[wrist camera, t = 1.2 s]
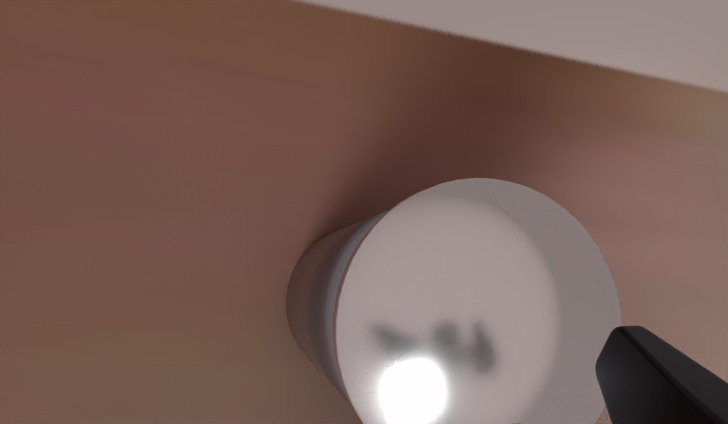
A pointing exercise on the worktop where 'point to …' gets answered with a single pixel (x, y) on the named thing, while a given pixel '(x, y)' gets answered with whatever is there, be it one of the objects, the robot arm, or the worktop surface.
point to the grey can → (459, 309)
